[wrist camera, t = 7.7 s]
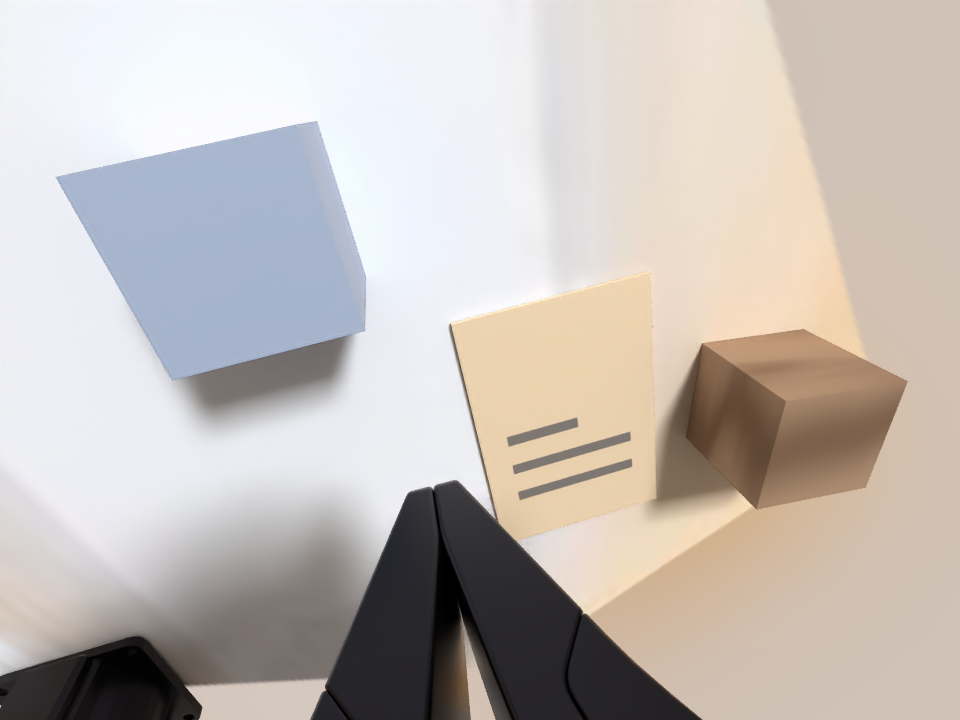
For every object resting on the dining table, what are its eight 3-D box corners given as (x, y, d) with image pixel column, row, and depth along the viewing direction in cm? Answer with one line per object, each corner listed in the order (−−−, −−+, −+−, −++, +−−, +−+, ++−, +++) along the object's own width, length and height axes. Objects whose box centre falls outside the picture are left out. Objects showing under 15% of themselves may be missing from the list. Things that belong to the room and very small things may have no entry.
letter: (654, 495, 25) (656, 498, 25) (503, 541, 24) (504, 545, 24) (647, 271, 19) (651, 273, 19) (450, 322, 19) (451, 325, 19)
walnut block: (777, 420, 25) (865, 487, 20) (685, 436, 24) (756, 509, 20) (802, 328, 22) (908, 381, 18) (701, 342, 22) (786, 401, 17)
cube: (365, 275, 17) (365, 330, 13) (222, 311, 17) (172, 380, 13) (317, 121, 15) (296, 124, 11) (149, 157, 15) (55, 177, 10)
